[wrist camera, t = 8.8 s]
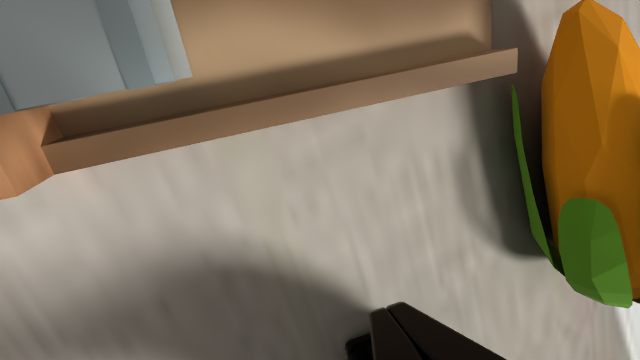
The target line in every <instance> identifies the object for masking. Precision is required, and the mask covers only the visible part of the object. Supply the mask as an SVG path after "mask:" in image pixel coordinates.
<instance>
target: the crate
mask: <svg viewBox="0 0 640 360" xmlns="http://www.w3.org/2000/svg"><path fill="white" fill-rule="evenodd" d="M189 77H193V76H192V72H191V69H190V66H189V62H188V59H187V56H186V52H185V49H184V46H183V42H182V39H181V36H180V32H179V29H178V25H177V22H176V19H175V15H174V12H173V9H172V5H171V2H170V0H0V115H2V114H7V113H13V112H18V111H23V110H28V109H33V108H38V107H43V106H48V105H54V104H59V103H64V102H69V101H74V100H79V99H84V98H85V97H88V96H94V95H99V94H104V93H109V92H115V91H120V90H125V89H128V90H134V89H139V88H145V87H150V86H155V85H160V84H165V83H170V82H175V81H179V79H184V78H189Z"/></svg>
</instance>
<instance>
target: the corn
mask: <svg viewBox="0 0 640 360" xmlns="http://www.w3.org/2000/svg"><path fill="white" fill-rule="evenodd" d="M511 88H512V107H513V126H514V136H515V142H516V148H517V153H518V159H519V164H520V170H521V176H522V181H523V187H524V192H525V198H526V204H527V209H528V215H529V221H530V226H531V232H532V234H533V236H534V238H535V240H536V241H537V243H538V244H539V246H540V247H541V249H542V250H543V252H544V253H545V255H546V256H547V258H548V259H549V261H550V262H551V264H552V265H553V267H554V268H555V269H557V270H558V271H559V272H560V273H561V274H562V275H564V276H565V277H566V281H567V282H568V283H569V285H570V286H571V287H572V288H573V289H574V291H576V292H578V293H580V294H582V295H584V296H586V297H589V298H591V299H593V300H595V301H598V302H600V303H602V304H605V305H611V306H617V307H624V308H629V307H630V306H632V301H634V302H636V303H639V304H640V48H639V46H638V44H637V43H636V41H635V39H634V37H633V35H632V34H631V32H630V30H629V28H628V26H627V25H626V23H625V21H624V19H623V18H622V17H620V16H619V15H617V14H615V13H614V12H612V11H610V10H609V9H607V8H605V7H604V6H602V5H600V4H599V3H597V2H595V1H594V0H581V1H580V2H579V3H577V4H576V5H574V6H573V7H572V8H570V9H569V10H567V11H566V12H565V13H563V15H562V18H561V21H560V24H559V27H558V30H557V33H556V37H555V40H554V43H553V46H552V50H551V53H550V56H549V60H548V63H547V67H546V70H545V73H544V77H543V80H542V168H543V174H544V181H545V187H546V194H547V200H548V207H549V213H550V220H551V226H552V233H553V239H554V244H555V246H556V248H557V249H556V248H555V246H554V245H553V244H552V243H551V242H550V241H549V240H548V239H547V237H545V234H544V231H543V227H542V224H541V220H540V217H539V213H538V210H537V206H536V203H535V199H534V195H533V191H532V186H531V182H530V177H529V172H528V168H527V163H526V158H525V154H524V149H523V144H522V134H521V125H520V115H519V107H518V99H517V93H516V91H515V89H514V86H513V83H511Z"/></svg>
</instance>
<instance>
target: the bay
mask: <svg viewBox="0 0 640 360" xmlns="http://www.w3.org/2000/svg"><path fill="white" fill-rule="evenodd" d="M170 2H171V5H172V9H173V12H174V15H175V19H176V22H177V25H178V29H179V32H180V36H181V39H182V42H183V46H184V49H185V52H186V56H187V59H188V62H189V66H190V69H191V72H192V76H193V77H189V78H184V79H179V81H175V82H170V83H165V84H160V85H155V86H150V87H145V88H139V89H134V90H128V89H125V90H120V91H115V92H109V93H104V94H99V95H94V96H88V97H85V98H84V99H79V100H74V101H69V102H64V103H59V104H54V105H48V106H43V107H38V108H33V109H28V110H23V111H18V112H13V113H7V114H2V115H0V200H2V199H7V198H11V197H16V196H19V195H20V194H22V193H24V192H25V191H27V190H29V189H31V188H32V187H34V186H36V185H37V184H39V183H41V182H42V181H44V180H46V179H48V178H49V177H51V176H53V175H55V174H59V173H64V172H68V171H73V170H78V169H82V168H87V167H91V166H96V165H100V164H105V163H109V162H114V161H118V160H123V159H127V158H132V157H136V156H141V155H145V154H150V153H155V152H159V151H164V150H168V149H173V148H177V147H182V146H186V145H191V144H195V143H200V142H204V141H209V140H213V139H218V138H222V137H227V136H232V135H236V134H241V133H245V132H250V131H254V130H259V129H263V128H268V127H272V126H277V125H281V124H286V123H290V122H295V121H299V120H304V119H309V118H313V117H318V116H322V115H327V114H331V113H336V112H340V111H345V110H349V109H354V108H358V107H363V106H367V105H372V104H376V103H381V102H386V101H390V100H395V99H399V98H404V97H408V96H413V95H417V94H422V93H426V92H431V91H435V90H440V89H444V88H449V87H453V86H458V85H463V84H467V83H472V82H476V81H481V80H485V79H490V78H494V77H499V76H503V75H508V74H512V73H517V59H518V48H509V49H496V50H491V0H170Z"/></svg>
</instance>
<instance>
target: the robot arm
mask: <svg viewBox="0 0 640 360" xmlns="http://www.w3.org/2000/svg"><path fill="white" fill-rule="evenodd" d="M369 322H370V331H371V334H368V335H365V336H362V337H359V338H356V339H353V340H351V341H349V342H347V343H346V345H345V350H346V355H347V360H506V359H505V358H503V357H501V356H499V355H497V354H496V353H494V352H492V351H490V350H489V349H487V348H485V347H483V346H481V345H480V344H478V343H476V342H474V341H473V340H471V339H469V338H467V337H465V336H464V335H462V334H460V333H458V332H456V331H455V330H453V329H451V328H449V327H448V326H446V325H444V324H442V323H440V322H439V321H437V320H435V319H433V318H432V317H430V316H428V315H426V314H424V313H423V312H421V311H419V310H417V309H415V308H414V307H412V306H410V305H408V304H407V303H405V302H398V303H395V304H392V305H389V306H387V307H386V308H380V309H376V310H373V311H371V312H369ZM353 347H354V348H353ZM351 348H352V349H351Z"/></svg>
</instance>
